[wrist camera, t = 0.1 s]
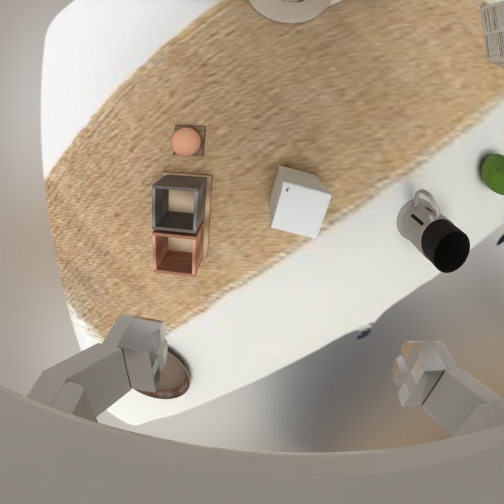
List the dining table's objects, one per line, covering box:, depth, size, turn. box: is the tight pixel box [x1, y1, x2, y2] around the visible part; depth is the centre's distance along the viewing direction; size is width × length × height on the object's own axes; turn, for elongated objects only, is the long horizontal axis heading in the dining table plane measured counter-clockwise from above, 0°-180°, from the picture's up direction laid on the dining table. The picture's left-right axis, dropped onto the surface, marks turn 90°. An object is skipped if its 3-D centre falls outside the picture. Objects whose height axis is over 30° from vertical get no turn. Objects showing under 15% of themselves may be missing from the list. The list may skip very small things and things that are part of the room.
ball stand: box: [173, 125, 205, 156], centre depth 52 cm, size 5×5×1 cm
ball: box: [171, 128, 201, 157], centre depth 50 cm, size 5×5×5 cm
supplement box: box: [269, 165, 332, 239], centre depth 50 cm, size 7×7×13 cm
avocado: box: [481, 154, 504, 195], centre depth 46 cm, size 8×8×12 cm
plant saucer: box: [135, 350, 190, 399], centre depth 76 cm, size 21×21×3 cm
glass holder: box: [397, 190, 470, 273], centre depth 50 cm, size 9×14×15 cm, turn 31°
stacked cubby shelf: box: [152, 172, 212, 277], centre depth 55 cm, size 16×9×9 cm, turn 174°
